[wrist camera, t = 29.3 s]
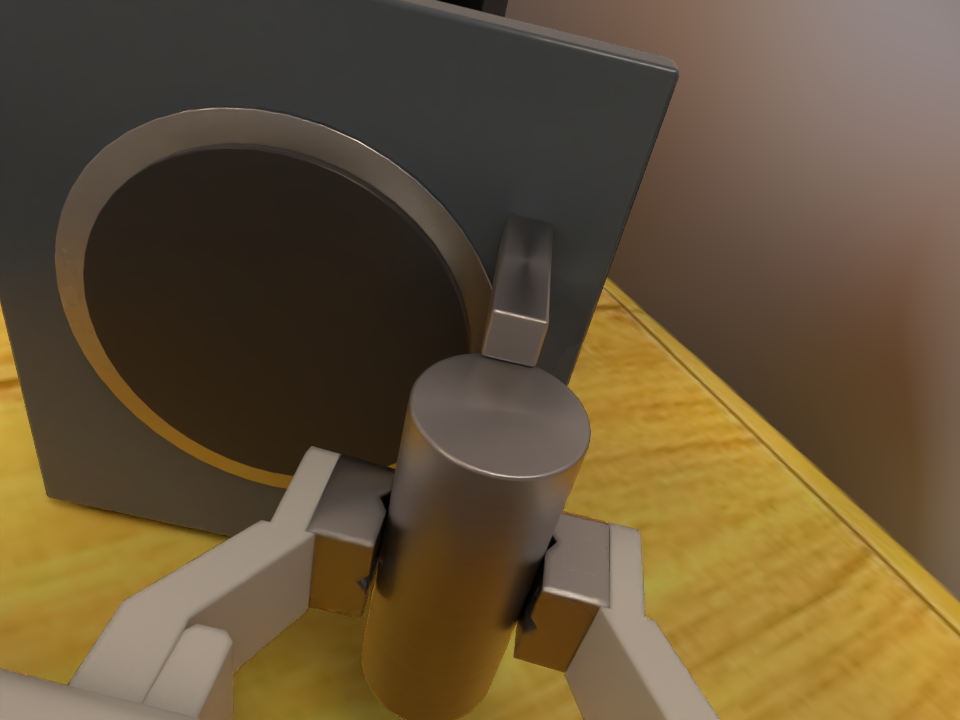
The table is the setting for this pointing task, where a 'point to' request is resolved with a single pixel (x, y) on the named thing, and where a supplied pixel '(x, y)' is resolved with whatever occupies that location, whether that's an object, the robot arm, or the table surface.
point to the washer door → (321, 278)
